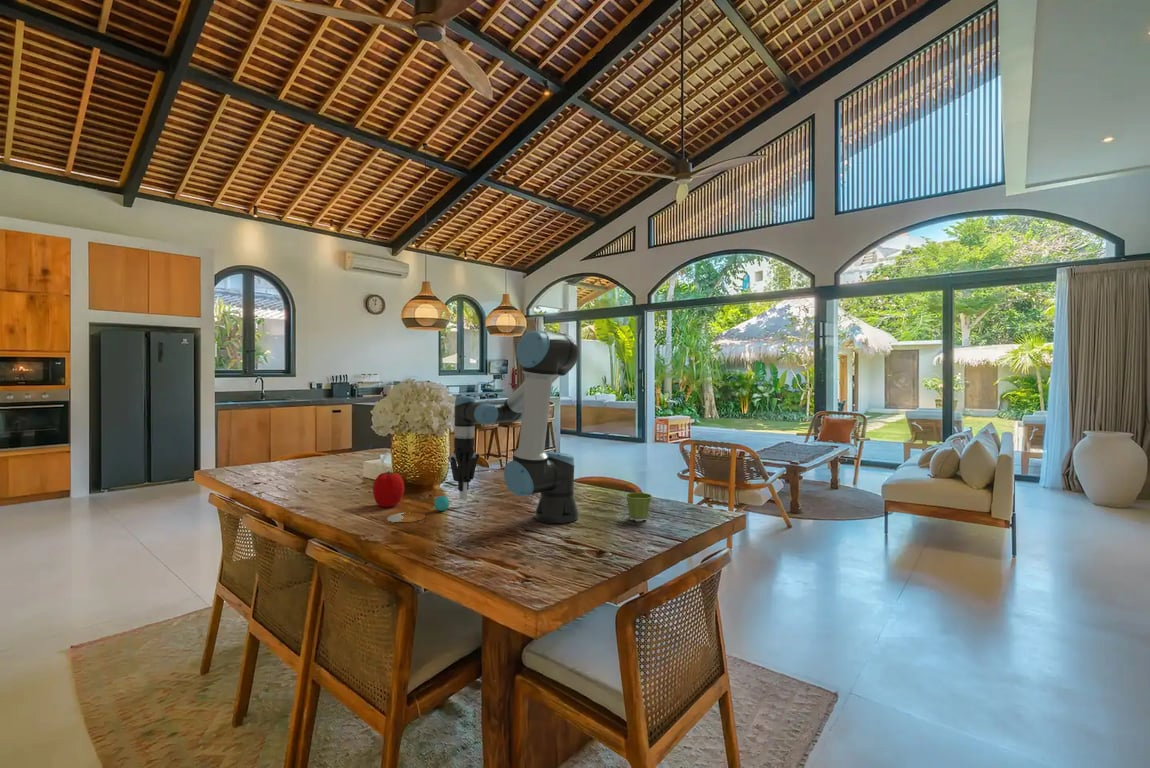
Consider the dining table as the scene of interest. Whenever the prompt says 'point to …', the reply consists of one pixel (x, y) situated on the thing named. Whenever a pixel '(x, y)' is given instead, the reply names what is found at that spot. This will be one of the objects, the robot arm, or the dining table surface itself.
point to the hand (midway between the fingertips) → (463, 499)
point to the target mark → (395, 517)
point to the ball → (441, 503)
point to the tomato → (388, 489)
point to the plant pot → (638, 505)
